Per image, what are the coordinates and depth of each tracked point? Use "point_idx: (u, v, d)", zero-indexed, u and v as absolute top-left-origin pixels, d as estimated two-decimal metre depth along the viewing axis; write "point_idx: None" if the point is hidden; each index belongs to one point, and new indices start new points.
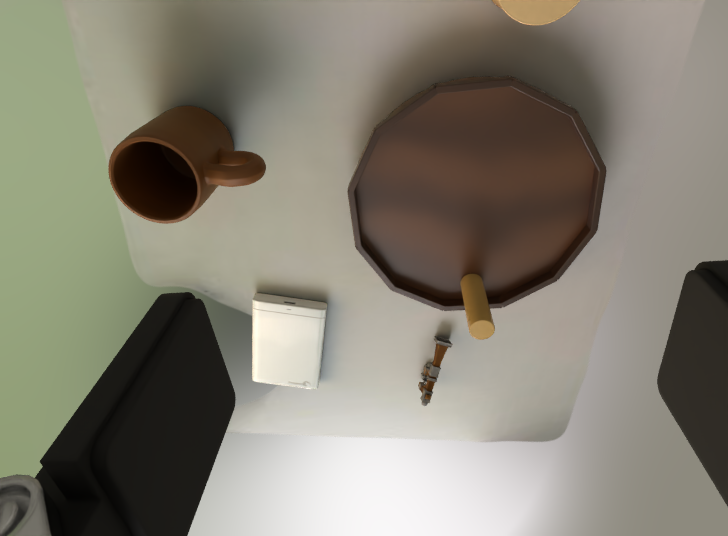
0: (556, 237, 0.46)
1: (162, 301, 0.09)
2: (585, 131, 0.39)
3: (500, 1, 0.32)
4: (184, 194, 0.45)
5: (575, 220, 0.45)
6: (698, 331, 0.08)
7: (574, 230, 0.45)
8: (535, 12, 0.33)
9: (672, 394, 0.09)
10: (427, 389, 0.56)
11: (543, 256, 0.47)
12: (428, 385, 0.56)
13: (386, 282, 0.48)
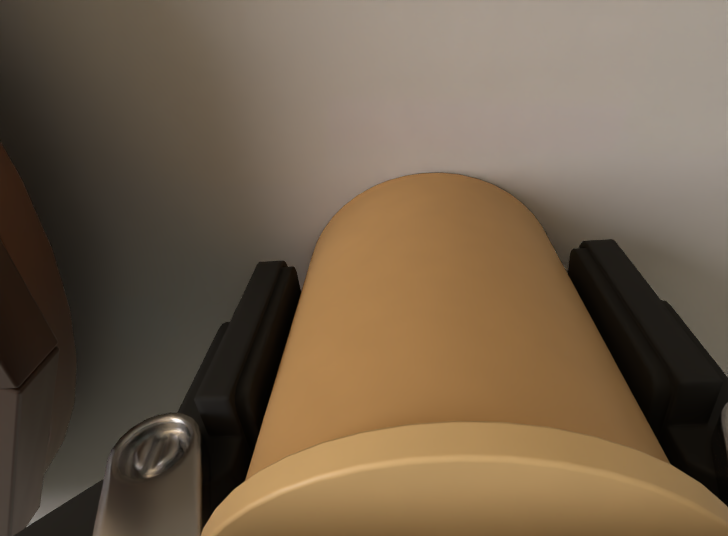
0: None
1: (262, 268, 0.10)
2: None
3: (295, 493, 0.04)
4: None
5: None
6: None
7: None
8: None
9: None
10: None
11: None
12: None
13: None
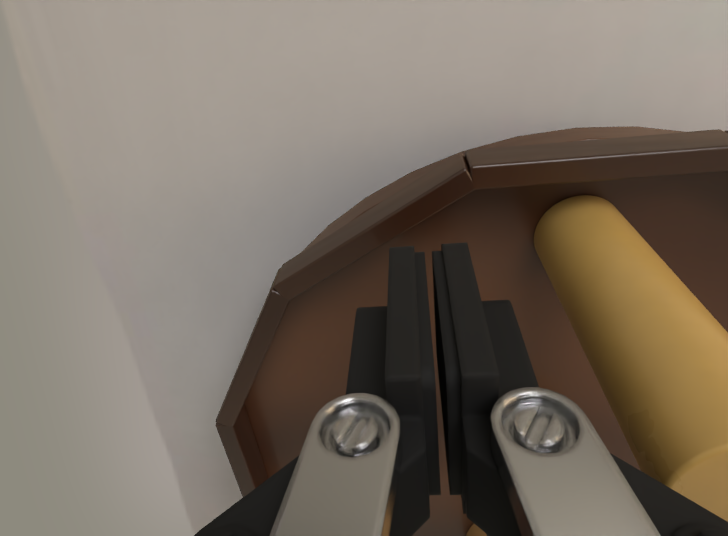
0: (311, 370, 0.16)
1: (396, 252, 0.10)
2: None
3: None
4: None
5: (274, 408, 0.17)
6: (435, 302, 0.10)
7: (267, 386, 0.16)
8: None
9: (437, 360, 0.11)
10: None
11: (333, 321, 0.15)
12: None
13: None
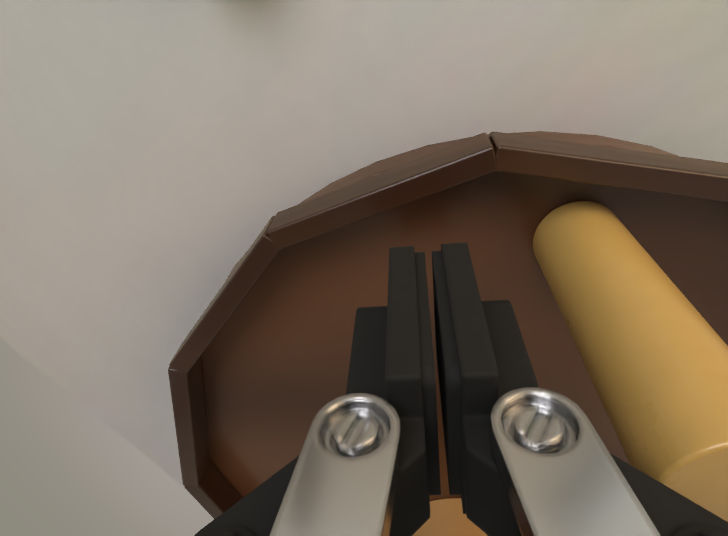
0: (279, 330, 0.15)
1: (396, 253, 0.10)
2: None
3: None
4: None
5: (231, 363, 0.16)
6: (435, 302, 0.10)
7: (230, 339, 0.16)
8: None
9: (437, 360, 0.11)
10: None
11: (315, 283, 0.14)
12: None
13: None
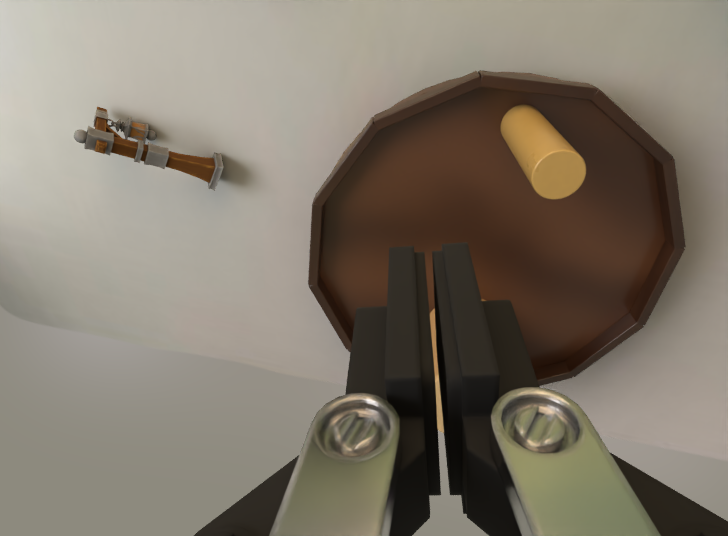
0: (369, 184, 0.29)
1: (396, 252, 0.10)
2: (336, 330, 0.33)
3: None
4: None
5: (340, 207, 0.30)
6: (435, 302, 0.10)
7: (341, 191, 0.29)
8: None
9: (437, 359, 0.11)
10: (115, 144, 0.28)
11: (390, 154, 0.28)
12: (125, 146, 0.28)
13: (672, 176, 0.26)
